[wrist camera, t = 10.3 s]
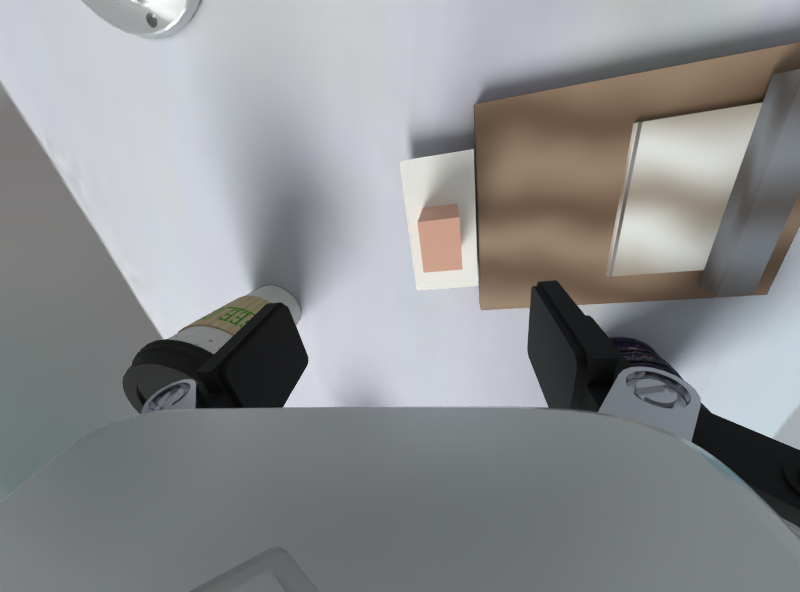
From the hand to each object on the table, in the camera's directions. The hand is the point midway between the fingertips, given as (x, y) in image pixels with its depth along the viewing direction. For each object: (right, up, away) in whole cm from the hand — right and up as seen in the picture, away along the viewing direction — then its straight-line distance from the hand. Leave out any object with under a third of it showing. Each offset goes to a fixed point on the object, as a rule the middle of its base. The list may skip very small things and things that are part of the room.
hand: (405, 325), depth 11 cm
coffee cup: (-15, 0, +24) cm, 29 cm away
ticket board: (+19, +9, +14) cm, 25 cm away
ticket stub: (+4, +7, +15) cm, 17 cm away
